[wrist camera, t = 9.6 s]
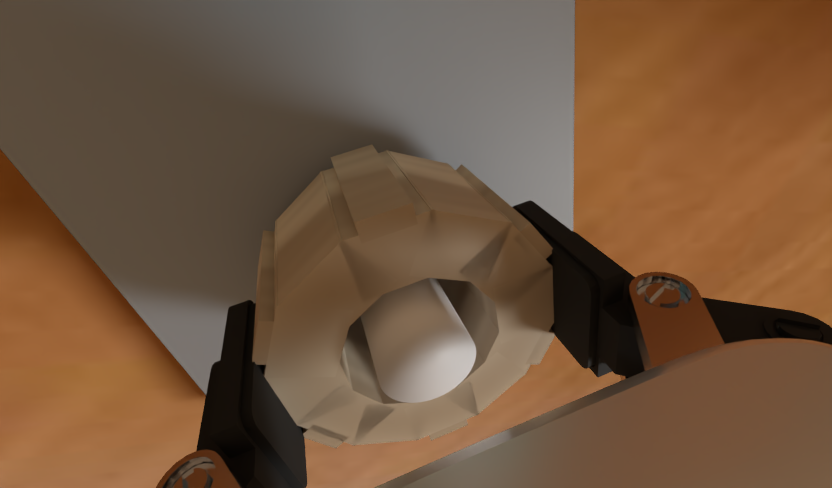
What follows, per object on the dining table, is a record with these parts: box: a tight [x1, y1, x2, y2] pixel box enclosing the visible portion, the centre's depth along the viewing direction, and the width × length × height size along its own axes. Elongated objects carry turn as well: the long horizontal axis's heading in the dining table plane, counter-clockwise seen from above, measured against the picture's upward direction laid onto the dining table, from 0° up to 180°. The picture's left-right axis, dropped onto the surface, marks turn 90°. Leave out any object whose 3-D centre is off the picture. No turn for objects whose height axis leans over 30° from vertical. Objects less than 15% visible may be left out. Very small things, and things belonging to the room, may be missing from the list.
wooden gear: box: [252, 144, 555, 448], centre depth 12 cm, size 7×8×4 cm
